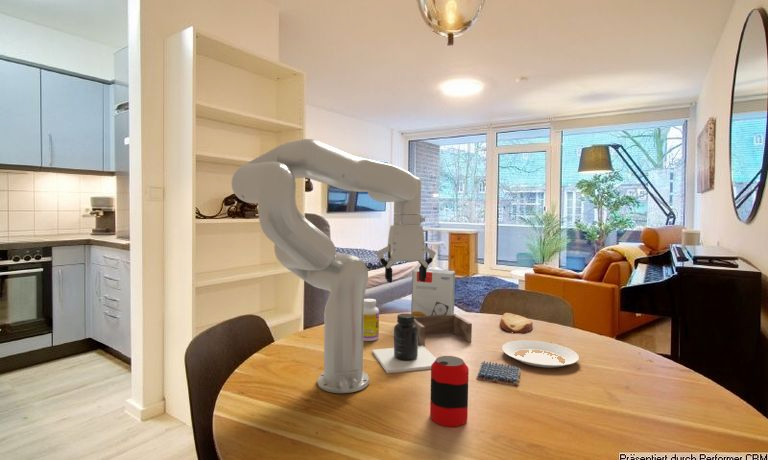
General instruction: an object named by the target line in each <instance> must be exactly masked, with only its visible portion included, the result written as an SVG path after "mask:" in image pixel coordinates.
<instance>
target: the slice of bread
mask: <svg viewBox="0 0 768 460" xmlns="http://www.w3.org/2000/svg"><path fill="white" fill-rule="evenodd" d="M499 325H500V327H501V328H502V329H503V330H504V331H505V330H506V332H507V331H508V332H507V333H510V332H513V333H512V334H515V333H522V334H525V333H528V332H527V331H529V332H531V331H533V329H534V327H533V321H532V320H531V319H529V318H526V317H525V316H522V315H518V314H515V313H511V312H505V313H503V314H502V316H501V318H500V322H499ZM532 328H533V329H532ZM524 332H525V333H524Z"/></svg>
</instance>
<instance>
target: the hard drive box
mask: <svg viewBox="0 0 768 460" xmlns="http://www.w3.org/2000/svg"><path fill="white" fill-rule="evenodd" d="M411 271H412V272H411V273H412V274H411V275H412V276H411V302H410V303H411V309H410V314H413V315H414V317H418V316H434V315H450V314H455V295H456V294H455V290H456V289H455V287H456V286H455V285H456V271H455V270H445V269H433V268H432V269H430V268H427V271H426V278H425V282H422V281H420V280H419V267H418V268H415V269H413V270H411Z"/></svg>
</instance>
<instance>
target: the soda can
mask: <svg viewBox="0 0 768 460" xmlns="http://www.w3.org/2000/svg"><path fill="white" fill-rule="evenodd" d="M436 358H437V359H436V360H435V361H434V363H433V364H432V365H431V369H430V398H429V399H430V403H429V404H430V405H429V407H430V410H429V417H430V419H432V421H433V422H434V423H435V424H437V425H439V426H442V427H448V428H457V427H460V426H463V425H464V424H465V423H466V422H467V421H468V414H469V413H468V411H469V410H468V409H469V406H468V404H469V374H470V373H469V370H470V369H469V367H468V366H467V364H466V362H465V361H464V359H462V358H460V357H458V356H453V355H441V356H438V357H436Z"/></svg>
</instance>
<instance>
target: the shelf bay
mask: <svg viewBox="0 0 768 460" xmlns="http://www.w3.org/2000/svg"><path fill="white" fill-rule="evenodd" d="M414 320H415V322H414V324H415V325H416V326H417V328H418V345H419V346H424V347H425V346H426V335H430V334H431V335H434V334H447V333H448V332H449V333H454V334H456V335H457V336H459V338H461V339H463V340H465V341H466V342H467V343H471V342H472V339H473V338H472V334H473V332H472V331H473V330H472V329H473V328H472V327H473V324H472V322H470V321H468V320H467V319H465V318H463V317H461V316H460V315H458V314H456V313H454V314H450V315H434V316H418V317H414Z"/></svg>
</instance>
